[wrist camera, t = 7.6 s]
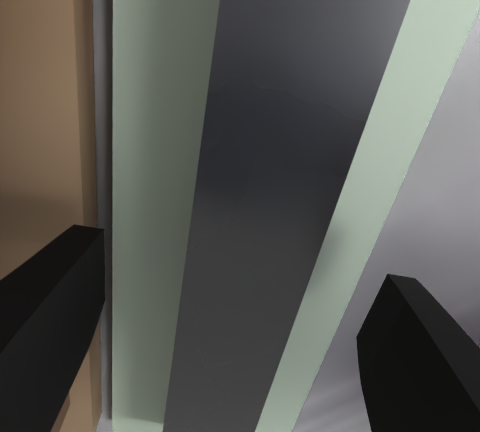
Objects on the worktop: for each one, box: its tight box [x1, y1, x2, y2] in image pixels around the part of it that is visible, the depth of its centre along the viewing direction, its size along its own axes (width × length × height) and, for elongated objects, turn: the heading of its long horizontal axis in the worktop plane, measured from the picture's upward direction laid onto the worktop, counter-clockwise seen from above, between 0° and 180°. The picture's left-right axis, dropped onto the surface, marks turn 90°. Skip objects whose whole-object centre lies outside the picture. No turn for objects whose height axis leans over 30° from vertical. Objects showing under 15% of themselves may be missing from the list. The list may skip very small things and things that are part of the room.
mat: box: [112, 0, 480, 432], centre depth 11 cm, size 6×20×1 cm, turn 170°
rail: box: [163, 0, 410, 432], centre depth 10 cm, size 2×18×2 cm, turn 170°
